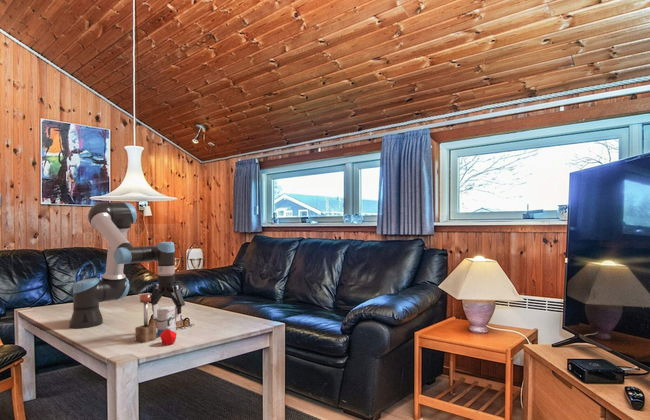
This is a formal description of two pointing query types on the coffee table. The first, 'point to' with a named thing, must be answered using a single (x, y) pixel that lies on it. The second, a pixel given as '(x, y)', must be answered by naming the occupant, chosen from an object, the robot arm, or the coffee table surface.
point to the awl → (145, 306)
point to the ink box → (166, 319)
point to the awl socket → (145, 333)
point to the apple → (168, 337)
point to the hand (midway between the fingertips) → (166, 319)
